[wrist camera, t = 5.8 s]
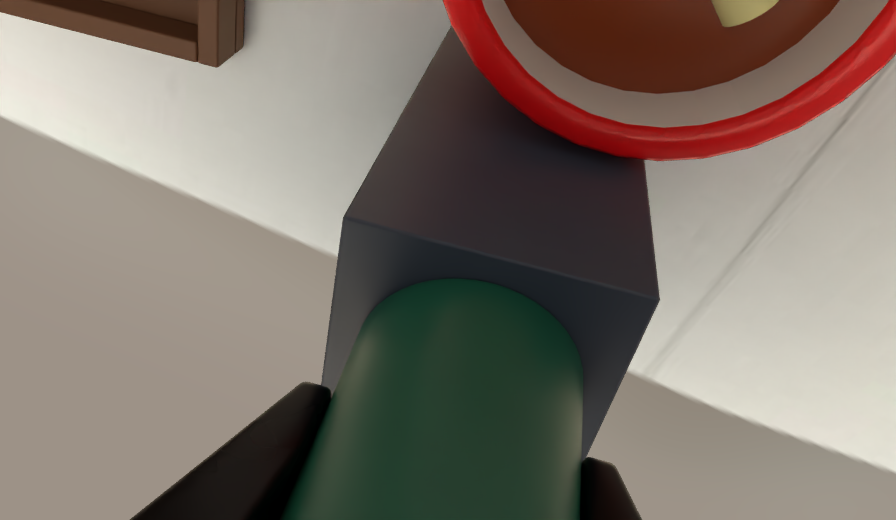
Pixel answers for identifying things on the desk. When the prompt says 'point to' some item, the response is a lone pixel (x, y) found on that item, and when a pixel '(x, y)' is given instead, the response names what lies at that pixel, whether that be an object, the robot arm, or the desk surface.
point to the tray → (148, 23)
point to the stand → (500, 225)
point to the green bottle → (450, 413)
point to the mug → (675, 67)
